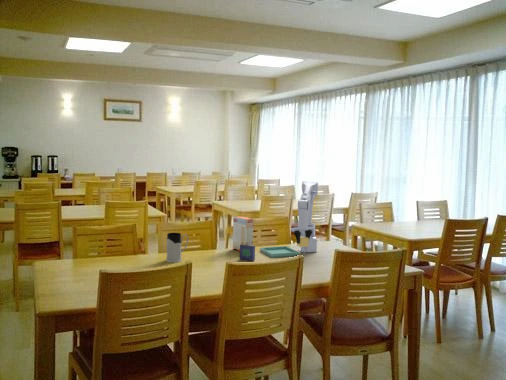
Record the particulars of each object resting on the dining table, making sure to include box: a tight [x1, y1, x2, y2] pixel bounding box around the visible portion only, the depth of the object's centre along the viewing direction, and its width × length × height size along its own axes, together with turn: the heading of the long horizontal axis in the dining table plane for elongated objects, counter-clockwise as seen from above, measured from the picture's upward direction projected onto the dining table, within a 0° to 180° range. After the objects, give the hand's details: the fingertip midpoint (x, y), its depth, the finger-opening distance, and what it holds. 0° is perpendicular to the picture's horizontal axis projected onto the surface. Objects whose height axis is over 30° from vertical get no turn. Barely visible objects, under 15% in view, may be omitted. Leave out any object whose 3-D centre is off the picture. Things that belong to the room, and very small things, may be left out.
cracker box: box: [232, 215, 254, 252], centre depth 284 cm, size 14×6×21 cm, turn 36°
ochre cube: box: [296, 236, 309, 248], centre depth 270 cm, size 5×5×5 cm
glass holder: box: [165, 232, 189, 263], centre depth 257 cm, size 9×14×15 cm, turn 137°
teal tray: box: [259, 245, 300, 258], centre depth 279 cm, size 18×18×2 cm
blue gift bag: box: [239, 242, 256, 262], centre depth 259 cm, size 9×3×11 cm, turn 68°
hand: (302, 243), depth 270 cm, fingers closed on ochre cube, 5 cm apart
